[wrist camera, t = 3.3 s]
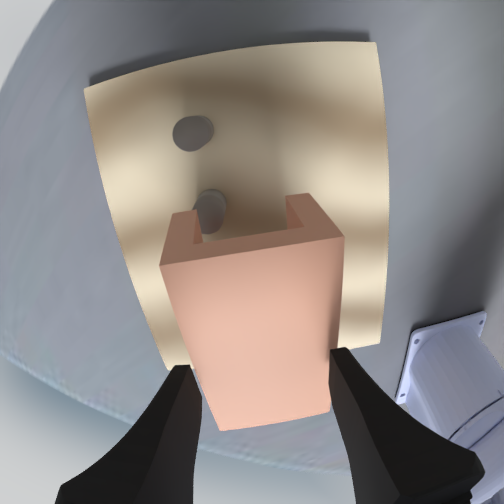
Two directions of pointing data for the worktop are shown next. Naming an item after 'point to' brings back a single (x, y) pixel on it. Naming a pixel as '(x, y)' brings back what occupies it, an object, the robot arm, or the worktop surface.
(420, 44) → the worktop surface
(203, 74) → the board
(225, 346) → the pink channel block
